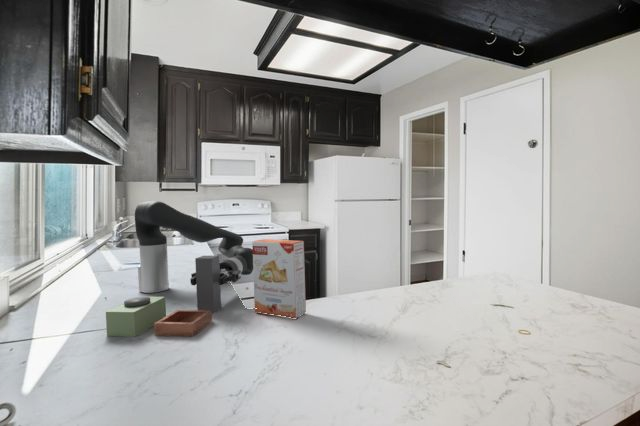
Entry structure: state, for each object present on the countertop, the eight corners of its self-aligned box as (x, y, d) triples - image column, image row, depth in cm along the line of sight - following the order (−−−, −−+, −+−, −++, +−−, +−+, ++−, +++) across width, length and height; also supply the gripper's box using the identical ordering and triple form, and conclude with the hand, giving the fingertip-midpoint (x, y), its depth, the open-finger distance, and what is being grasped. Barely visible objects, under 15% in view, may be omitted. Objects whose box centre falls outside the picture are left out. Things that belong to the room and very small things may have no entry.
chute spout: (197, 313, 98) (195, 258, 98) (205, 307, 103) (203, 255, 103) (213, 313, 98) (211, 258, 97) (221, 307, 102) (219, 255, 102)
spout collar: (154, 335, 82) (154, 323, 82) (177, 320, 92) (176, 309, 92) (193, 336, 81) (192, 324, 81) (212, 321, 91) (211, 310, 91)
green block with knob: (107, 335, 83) (105, 307, 83) (141, 317, 96) (140, 293, 95) (135, 336, 82) (133, 308, 82) (166, 317, 95) (165, 293, 94)
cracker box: (253, 313, 96) (250, 240, 95) (266, 307, 101) (264, 238, 101) (295, 320, 90) (292, 242, 89) (306, 313, 95) (304, 239, 94)
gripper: (248, 281, 114) (229, 294, 98) (208, 281, 115) (183, 294, 99) (247, 259, 113) (228, 269, 97) (207, 259, 115) (182, 269, 99)
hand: (205, 281), depth 98 cm, fingers open, 8 cm apart
